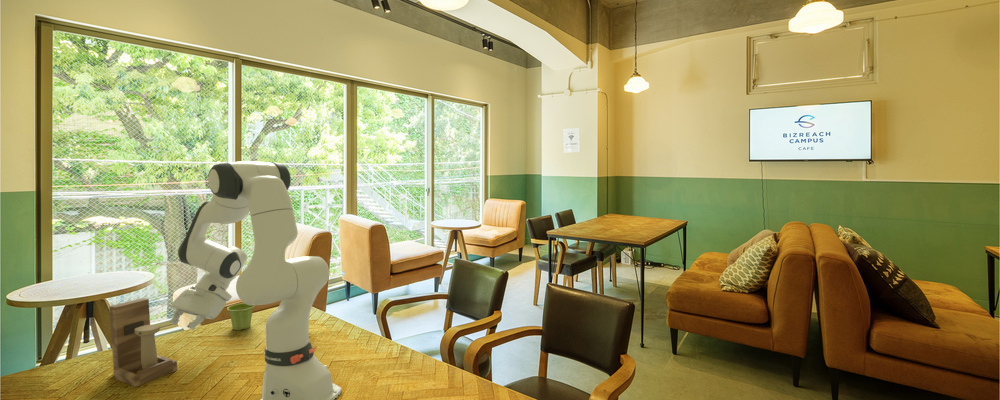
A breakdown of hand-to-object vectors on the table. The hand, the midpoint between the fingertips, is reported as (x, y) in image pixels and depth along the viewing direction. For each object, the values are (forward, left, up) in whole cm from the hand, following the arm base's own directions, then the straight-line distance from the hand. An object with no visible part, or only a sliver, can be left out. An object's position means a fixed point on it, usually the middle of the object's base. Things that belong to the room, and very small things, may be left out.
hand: (181, 326), depth 143 cm
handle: (0, +10, -12) cm, 16 cm away
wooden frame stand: (+2, +10, -12) cm, 16 cm away
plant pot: (+10, -28, -12) cm, 32 cm away
